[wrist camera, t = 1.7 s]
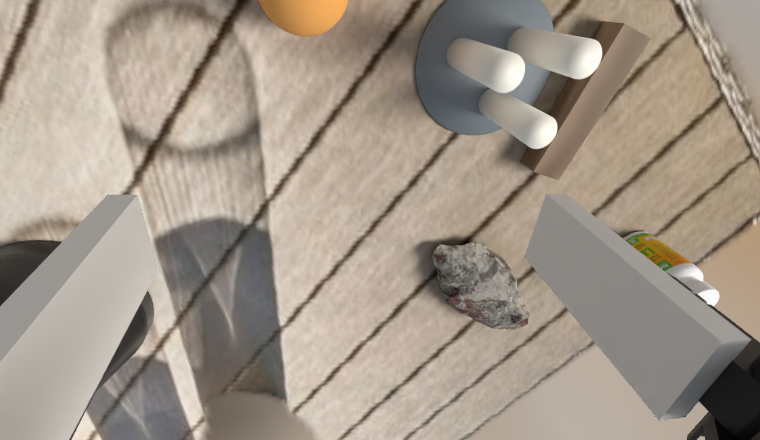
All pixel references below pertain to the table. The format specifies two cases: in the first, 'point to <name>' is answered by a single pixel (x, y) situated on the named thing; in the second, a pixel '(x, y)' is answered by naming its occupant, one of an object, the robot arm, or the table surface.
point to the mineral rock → (480, 285)
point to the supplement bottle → (673, 264)
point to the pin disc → (485, 25)
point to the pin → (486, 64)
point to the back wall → (587, 98)
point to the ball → (304, 15)
